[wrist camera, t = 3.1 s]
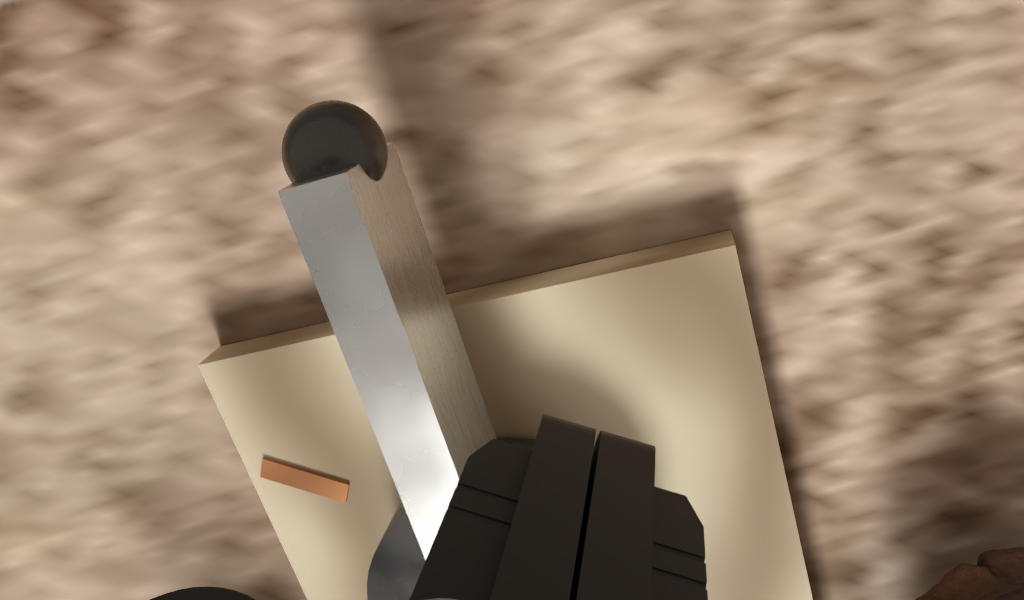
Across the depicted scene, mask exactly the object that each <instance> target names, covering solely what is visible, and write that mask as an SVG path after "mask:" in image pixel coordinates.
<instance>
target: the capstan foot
mask: <svg viewBox="0 0 1024 600" xmlns="http://www.w3.org/2000/svg"><path fill="white" fill-rule="evenodd" d="M282 159H283V164H284V168H285V171H286V173H287V175H288V177H289V179H290V180H291V182H292V184H290V185H288V186H287V187H285V188H283V189H281V190H280V191H278V193H279V196H280V198H281V201H282V203H283V206H284V208H285V211H286V213H287V216H288V218H289V221H290V223H291V226H292V228H293V231H294V233H295V236H296V238H297V241H298V243H299V246H300V248H301V251H302V253H303V256H304V258H305V261H306V263H307V266H308V268H309V271H310V273H311V276H312V278H313V281H314V283H315V286H316V288H317V291H318V293H319V296H320V298H321V301H322V303H323V306H324V308H325V311H326V313H327V316H328V318H329V321H330V323H331V326H332V328H333V331H334V333H335V336H336V338H337V341H338V343H339V346H340V348H341V351H342V353H343V356H344V358H345V361H346V363H347V366H348V368H349V371H350V373H351V376H352V378H353V381H354V383H355V386H356V388H357V391H358V393H359V396H360V398H361V401H362V403H363V406H364V408H365V411H366V413H367V416H368V418H369V420H370V423H371V425H372V428H373V430H374V433H375V435H376V438H377V440H378V443H379V445H380V448H381V450H382V453H383V455H384V458H385V460H386V463H387V465H388V468H389V470H390V473H391V475H392V478H393V480H394V483H395V485H396V488H397V490H398V493H399V495H400V498H401V501H400V503H399V505H398V507H397V509H396V511H395V513H394V515H393V517H392V519H391V521H390V523H389V525H388V527H387V529H386V531H385V533H384V535H383V537H382V539H381V541H380V543H379V545H378V547H377V549H376V551H375V553H374V556H373V558H372V561H371V564H370V568H369V571H368V580H367V600H409V599H410V597H411V595H412V593H413V590H414V588H415V585H416V583H417V581H418V578H419V576H420V573H421V571H422V568H423V566H424V564H425V561H426V559H427V556H428V554H429V551H430V549H431V547H432V544H433V542H434V539H435V537H436V534H437V532H438V530H439V527H440V525H441V522H442V520H443V517H444V515H445V513H446V510H447V509H448V506H449V503H450V500H451V498H452V496H453V493H454V491H455V488H456V487H457V484H458V481H459V479H460V476H461V474H462V471H463V469H464V466H465V464H466V461H467V459H468V457H469V456H470V455H471V454H473V453H474V452H475V451H477V450H478V449H480V448H481V447H482V446H484V445H485V444H487V443H488V442H489V441H491V440H492V439H496V440H500V441H503V442H506V443H510V444H513V445H516V446H520V447H523V448H526V449H530V450H533V447H534V444H535V440H536V439H528V438H520V437H498V438H496V436H495V433H494V430H493V427H492V424H491V421H490V418H489V416H488V413H487V410H486V407H485V404H484V401H483V398H482V395H481V393H480V390H479V387H478V384H477V381H476V378H475V375H474V372H473V369H472V367H471V364H470V361H469V358H468V355H467V352H466V349H465V346H464V343H463V341H462V338H461V335H460V332H459V329H458V326H457V323H456V320H455V317H454V315H453V312H452V309H451V306H450V303H449V300H448V297H447V294H446V291H445V289H444V286H443V283H442V280H441V277H440V274H439V271H438V268H437V265H436V263H435V260H434V257H433V254H432V251H431V248H430V245H429V242H428V239H427V237H426V234H425V231H424V228H423V225H422V222H421V219H420V216H419V214H418V211H417V208H416V205H415V202H414V199H413V196H412V193H411V190H410V188H409V185H408V182H407V179H406V176H405V173H404V170H403V167H402V164H401V162H400V159H399V156H398V153H397V150H396V147H395V144H394V142H391V143H388V144H386V140H385V137H384V134H383V132H382V130H381V128H380V127H379V125H378V124H377V122H376V121H375V120H374V119H373V118H372V117H371V116H370V115H369V114H368V113H367V112H366V111H364V110H363V109H361V108H360V107H358V106H356V105H354V104H351V103H348V102H343V101H335V100H330V101H323V102H318V103H315V104H312V105H310V106H308V107H307V108H305V109H303V110H302V111H301V112H299V113H298V114H297V115H296V116H295V117H294V119H293V120H292V121H291V123H290V124H289V125H288V128H287V130H286V132H285V135H284V138H283V142H282Z"/></svg>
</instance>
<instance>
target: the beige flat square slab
mask: <svg viewBox="0 0 1024 600" xmlns="http://www.w3.org/2000/svg"><path fill="white" fill-rule="evenodd" d="M447 297H448V300H449V303H450V306H451V309H452V312H453V315H454V317H455V320H456V323H457V326H458V329H459V332H460V335H461V338H462V341H463V343H464V346H465V349H466V352H467V355H468V358H469V361H470V364H471V367H472V369H473V372H474V375H475V378H476V381H477V384H478V387H479V390H480V393H481V395H482V398H483V401H484V404H485V407H486V410H487V413H488V416H489V418H490V421H491V424H492V427H493V430H494V433H495V436H496V438H498V437H520V438H528V439H536V436H537V433H538V429H539V426H540V422H541V419H542V415H543V413H544V414H547V415H550V416H554V417H557V418H560V419H564V420H567V421H571V422H574V423H577V424H581V425H584V426H588V427H591V428H594V429H596V436H595V442H596V439H597V436H598V434H599V432H600V430H602V431H605V432H609V433H612V434H616V435H619V436H622V437H626V438H629V439H633V440H636V441H639V442H643V443H646V444H650V445H653V446H655V452H656V453H655V484H654V486H655V487H658V488H661V489H665V490H668V491H671V492H675V493H678V494H681V495H685V496H686V497H687V498H688V500H689V502H690V504H691V505H692V507H693V509H694V511H695V512H696V514H697V516H698V518H699V519H700V521H701V523H702V525H703V526H704V540H705V557H706V558H705V561H704V563H706V574H707V585H706V590H707V592H708V600H813V598H812V593H811V589H810V584H809V579H808V575H807V570H806V566H805V561H804V557H803V552H802V548H801V543H800V538H799V534H798V529H797V525H796V520H795V516H794V511H793V506H792V502H791V497H790V493H789V488H788V484H787V479H786V474H785V470H784V465H783V461H782V456H781V452H780V447H779V442H778V438H777V433H776V429H775V424H774V420H773V415H772V410H771V406H770V401H769V397H768V392H767V388H766V383H765V378H764V374H763V369H762V365H761V360H760V356H759V351H758V346H757V342H756V337H755V333H754V328H753V324H752V319H751V315H750V310H749V305H748V301H747V296H746V292H745V287H744V283H743V278H742V273H741V269H740V264H739V260H738V255H737V251H736V246H735V242H734V238H733V234H732V230H727V231H723V232H718V233H714V234H710V235H705V236H701V237H696V238H692V239H688V240H683V241H679V242H675V243H670V244H666V245H661V246H657V247H653V248H648V249H644V250H640V251H635V252H631V253H626V254H622V255H618V256H613V257H609V258H605V259H600V260H596V261H591V262H587V263H583V264H578V265H574V266H570V267H565V268H561V269H557V270H552V271H548V272H543V273H539V274H535V275H530V276H526V277H522V278H517V279H513V280H508V281H504V282H500V283H495V284H491V285H487V286H482V287H478V288H473V289H469V290H465V291H460V292H456V293H452V294H447ZM198 366H199V369H200V371H201V373H202V375H203V377H204V379H205V381H206V384H207V386H208V388H209V390H210V392H211V394H212V396H213V399H214V401H215V403H216V405H217V407H218V409H219V411H220V414H221V416H222V418H223V420H224V422H225V424H226V426H227V429H228V431H229V433H230V435H231V437H232V439H233V441H234V444H235V446H236V448H237V450H238V452H239V454H240V456H241V459H242V461H243V463H244V465H245V467H246V469H247V472H248V474H249V476H250V478H251V480H252V482H253V484H254V487H255V489H256V491H257V493H258V495H259V497H260V499H261V502H262V504H263V506H264V508H265V510H266V512H267V514H268V517H269V519H270V521H271V523H272V525H273V527H274V529H275V532H276V534H277V536H278V538H279V540H280V542H281V544H282V547H283V549H284V551H285V553H286V555H287V557H288V559H289V562H290V564H291V566H292V568H293V570H294V572H295V574H296V577H297V579H298V581H299V583H300V585H301V587H302V589H303V592H304V594H305V596H306V598H307V600H367V580H368V571H369V568H370V564H371V561H372V558H373V556H374V553H375V551H376V549H377V547H378V545H379V543H380V541H381V539H382V537H383V535H384V533H385V531H386V529H387V527H388V525H389V523H390V521H391V519H392V517H393V515H394V513H395V511H396V509H397V507H398V505H399V503H400V501H401V498H400V495H399V493H398V490H397V488H396V485H395V483H394V480H393V478H392V475H391V473H390V470H389V468H388V465H387V463H386V460H385V458H384V455H383V453H382V450H381V448H380V445H379V443H378V440H377V438H376V435H375V433H374V430H373V428H372V425H371V423H370V420H369V418H368V416H367V413H366V411H365V408H364V406H363V403H362V401H361V398H360V396H359V393H358V391H357V388H356V386H355V383H354V381H353V378H352V376H351V373H350V371H349V368H348V366H347V363H346V361H345V358H344V356H343V353H342V351H341V348H340V346H339V343H338V341H337V338H336V336H335V333H334V331H333V328H332V326H331V323H330V321H329V322H325V323H320V324H316V325H312V326H307V327H303V328H298V329H294V330H290V331H285V332H281V333H277V334H272V335H268V336H263V337H259V338H255V339H250V340H246V341H242V342H237V343H233V344H228V345H224V346H220V347H219V348H218V349H216V350H215V351H214V352H213V353H212V354H210V355H209V356H208V357H207V358H206V359H205V360H203V361H202V362H201V363H200V364H199V365H198ZM595 442H594V445H595Z"/></svg>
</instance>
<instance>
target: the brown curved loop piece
mask: <svg viewBox="0 0 1024 600" xmlns="http://www.w3.org/2000/svg"><path fill="white" fill-rule="evenodd" d="M916 600H1024V548H1023V547H1018V548H1011V549H1003V550H990V551H986V552H984V553H982V554H980V555H979V557H978V561H977V566H975V565H971V564H966V563H964V564H960V565H958V566H956V567H955V568H954V569H952V570H951V571H949V572H948V573H947V574H946V575H945V576H944V577H943V578H942V579H941V580H940V582H939V583H938V584H936V585H935V586H934V587H932V588H931V589H930V590H929V591H928V592H927V593H926V594H924V595H923V596H921V597H919V598H917V599H916Z"/></svg>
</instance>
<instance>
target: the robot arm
mask: <svg viewBox="0 0 1024 600" xmlns="http://www.w3.org/2000/svg"><path fill="white" fill-rule="evenodd" d="M595 436H596V429H594V428H591V427H588V426H584V425H581V424H577V423H574V422H571V421H567V420H564V419H560V418H557V417H554V416H550V415H547V414H544V413H543V415H542V419H541V422H540V426H539V429H538V433H537V436H536V440H535V444H534V447H533V450H530V449H526V448H523V447H520V446H516V445H513V444H510V443H506V442H503V441H500V440H496V439H492V440H491V441H489V442H488V443H487V444H485V445H484V446H482V447H481V448H480V449H478V450H477V451H475V452H474V453H473V454H471V455H470V456H469V457H468V459H467V461H466V464H465V466H464V469H463V471H462V474H461V476H460V479H459V481H458V484H457V487H456V488H455V491H454V493H453V496H452V498H451V500H450V503H449V506H448V509H447V510H446V513H445V515H444V517H443V520H442V522H441V525H440V527H439V530H438V532H437V534H436V537H435V539H434V542H433V544H432V547H431V549H430V551H429V554H428V556H427V559H426V561H425V564H424V566H423V568H422V571H421V573H420V576H419V578H418V581H417V583H416V585H415V588H414V590H413V593H412V595H411V597H410V599H409V600H708V592H707V590H706V585H707V574H706V563H704V561H705V558H706V557H705V540H704V526H703V525H702V523H701V521H700V519H699V518H698V516H697V514H696V512H695V511H694V509H693V507H692V505H691V504H690V502H689V500H688V498H687V497H686V496H685V495H681V494H678V493H675V492H671V491H668V490H665V489H661V488H658V487H655V486H654V484H655V453H656V452H655V446H653V445H650V444H646V443H643V442H639V441H636V440H633V439H629V438H626V437H622V436H619V435H616V434H612V433H609V432H605V431H602V430H600V432H599V434H598V436H597V439H596V442H595ZM594 442H595V445H594ZM150 600H255V599H253V598H251V597H249V596H248V595H245V594H242V593H240V592H237V591H234V590H229V589H225V588H217V587H193V588H187V589H181V590H177V591H174V592H170V593H167V594H164V595H161V596H158V597H156V598H153V599H150Z"/></svg>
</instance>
